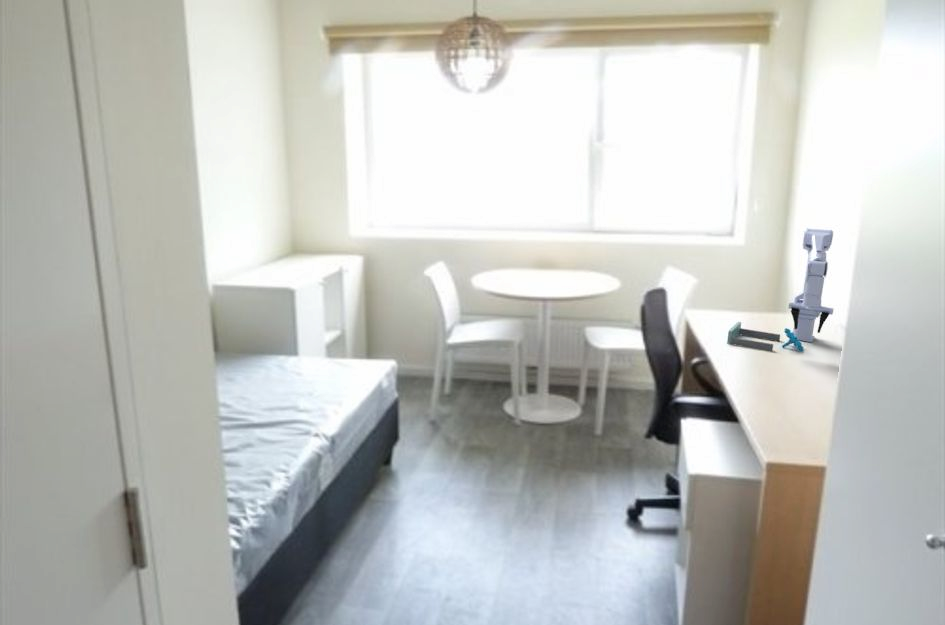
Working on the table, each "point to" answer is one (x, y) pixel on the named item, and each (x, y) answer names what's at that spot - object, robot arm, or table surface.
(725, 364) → the table surface
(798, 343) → the gear
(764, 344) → the grey open frame
